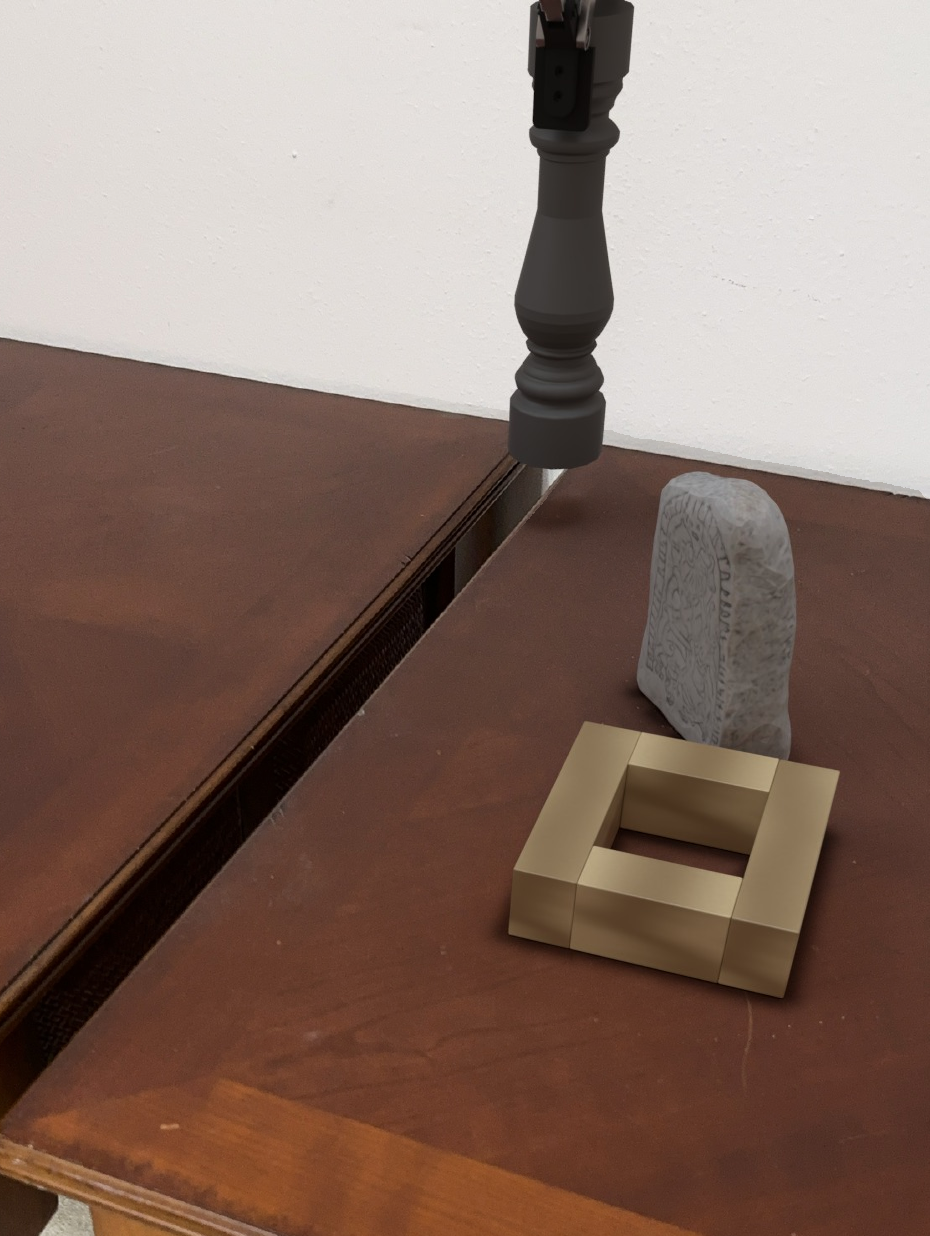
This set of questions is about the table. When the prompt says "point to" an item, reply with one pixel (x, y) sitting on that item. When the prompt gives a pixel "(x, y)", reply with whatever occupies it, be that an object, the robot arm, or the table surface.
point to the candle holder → (569, 268)
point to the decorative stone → (721, 615)
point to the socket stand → (668, 892)
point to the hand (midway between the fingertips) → (575, 110)
